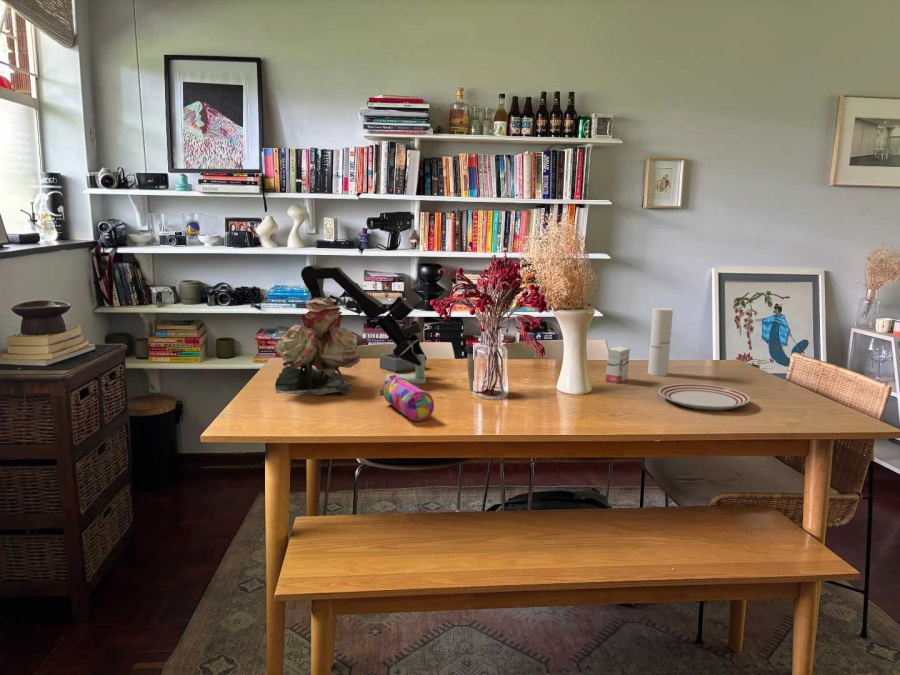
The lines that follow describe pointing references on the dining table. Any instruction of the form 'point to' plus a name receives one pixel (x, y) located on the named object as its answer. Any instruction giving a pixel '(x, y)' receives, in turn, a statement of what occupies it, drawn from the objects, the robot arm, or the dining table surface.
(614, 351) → the ink box
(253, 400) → the dining table surface
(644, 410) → the dining table surface
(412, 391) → the pencil case
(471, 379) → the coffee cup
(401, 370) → the parts tub
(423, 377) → the pale green stand
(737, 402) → the dinner plate
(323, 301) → the rose bouquet
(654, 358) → the cylindrical container
